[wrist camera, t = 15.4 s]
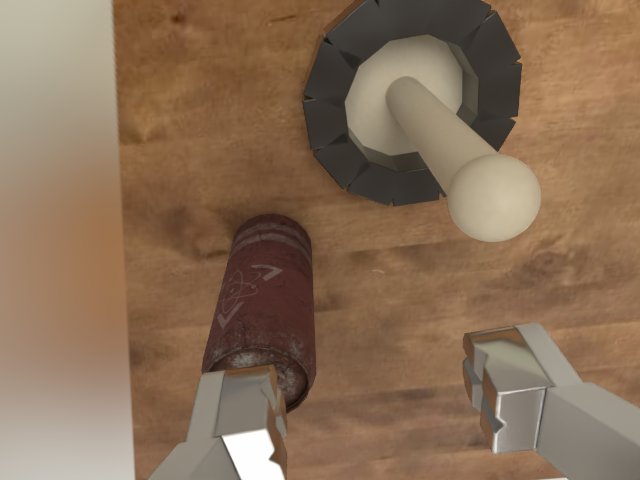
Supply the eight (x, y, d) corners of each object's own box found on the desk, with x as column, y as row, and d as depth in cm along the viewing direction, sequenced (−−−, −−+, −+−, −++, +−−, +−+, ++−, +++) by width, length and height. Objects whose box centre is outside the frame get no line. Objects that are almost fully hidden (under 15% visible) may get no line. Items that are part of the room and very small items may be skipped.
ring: (320, 198, 31) (322, 218, 29) (287, 4, 25) (286, 7, 23) (495, 171, 31) (512, 188, 28) (506, -35, 24) (530, -36, 22)
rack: (341, 165, 32) (380, 342, 16) (322, 28, 27) (352, 98, 12) (467, 145, 31) (626, 307, 16) (470, 2, 26) (698, 40, 11)
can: (228, 271, 36) (191, 420, 24) (240, 203, 33) (205, 335, 21) (300, 285, 37) (300, 434, 25) (319, 220, 34) (329, 355, 22)
